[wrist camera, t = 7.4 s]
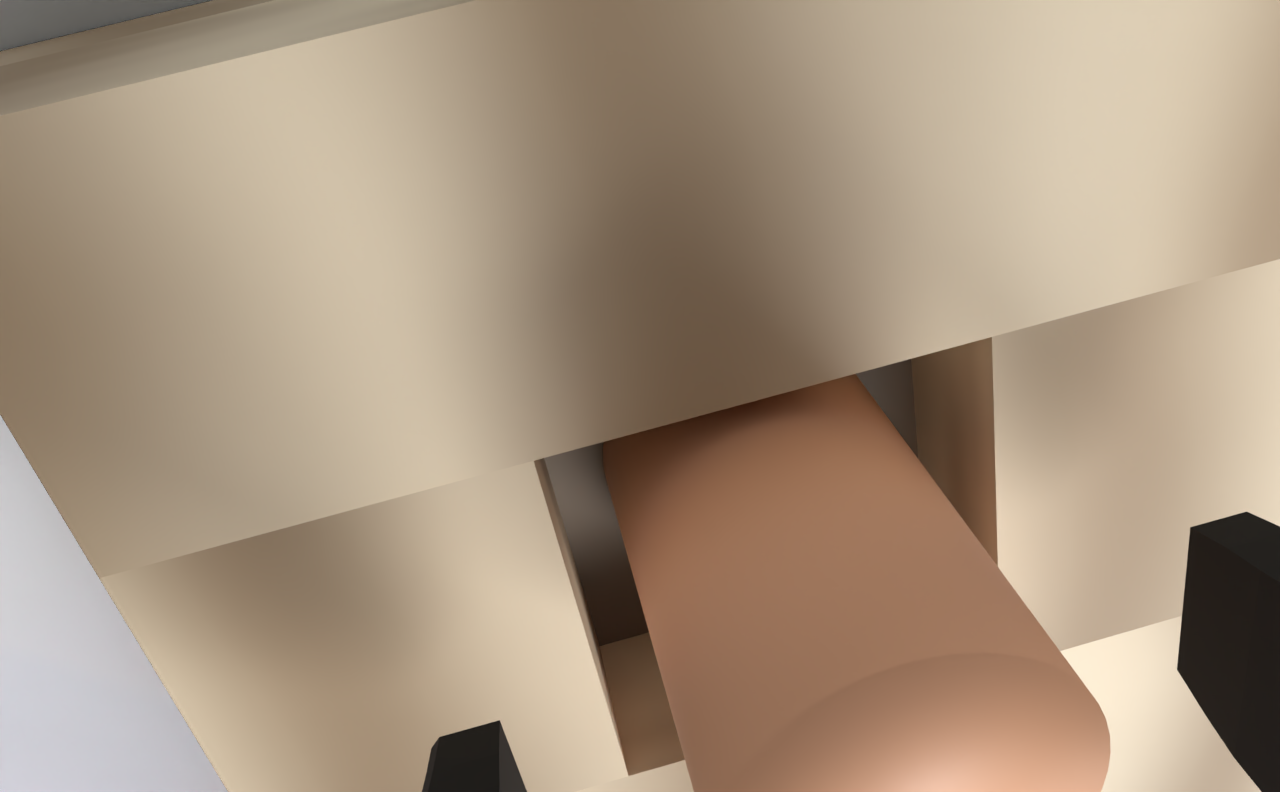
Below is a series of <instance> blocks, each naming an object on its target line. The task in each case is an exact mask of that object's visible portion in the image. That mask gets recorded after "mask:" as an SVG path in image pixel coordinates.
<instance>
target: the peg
mask: <svg viewBox="0 0 1280 792" xmlns="http://www.w3.org/2000/svg"><path fill="white" fill-rule="evenodd" d="M603 466H604V472H605V477H606V481H607V485H608V488H609V492H610V495H611V499H612V502H613V506H614V510H615V513H616V517H617V520H618V524H619V527H620V531H621V534H622V538H623V541H624V545H625V549H626V552H627V556H628V559H629V563H630V566H631V570H632V573H633V577H634V581H635V584H636V588H637V591H638V595H639V598H640V602H641V605H642V609H643V613H644V616H645V620H646V623H647V627H648V630H649V634H650V637H651V641H652V645H653V648H654V652H655V655H656V659H657V662H658V666H659V669H660V673H661V677H662V680H663V684H664V687H665V691H666V694H667V698H668V701H669V705H670V709H671V712H672V716H673V719H674V723H675V726H676V730H677V733H678V737H679V740H680V744H681V748H682V751H683V755H684V758H685V762H686V765H687V769H688V772H689V776H690V780H691V783H692V787H693V790H694V792H1101V790H1102V788H1103V785H1104V782H1105V778H1106V775H1107V772H1108V767H1109V760H1110V753H1111V750H1110V733H1109V729H1108V725H1107V721H1106V718H1105V716H1104V714H1103V712H1102V710H1101V708H1100V705H1099V703H1098V702H1097V701H1096V699H1095V698H1094V697H1093V695H1092V694H1091V692H1090V691H1089V690H1088V688H1087V687H1086V686H1085V684H1084V683H1083V682H1082V680H1081V679H1080V678H1079V676H1078V675H1077V674H1076V672H1075V671H1074V669H1073V668H1072V667H1071V665H1070V664H1069V663H1068V661H1067V660H1066V659H1065V657H1064V656H1063V655H1062V653H1061V652H1060V650H1059V649H1058V648H1057V646H1056V645H1055V644H1054V642H1053V641H1052V640H1051V638H1050V637H1049V636H1048V634H1047V633H1046V631H1045V630H1044V629H1043V627H1042V626H1041V625H1040V623H1039V622H1038V621H1037V619H1036V618H1035V617H1034V615H1033V614H1032V613H1031V611H1030V610H1029V608H1028V607H1027V606H1026V604H1025V603H1024V602H1023V600H1022V599H1021V598H1020V596H1019V595H1018V594H1017V592H1016V591H1015V589H1014V588H1013V587H1012V585H1011V584H1010V583H1009V581H1008V580H1007V579H1006V577H1005V576H1004V575H1003V573H1002V572H1001V570H1000V569H999V568H998V566H997V565H996V564H995V562H994V561H993V560H992V558H991V557H990V556H989V554H988V553H987V551H986V550H985V549H984V547H983V546H982V545H981V543H980V542H979V541H978V539H977V538H976V537H975V535H974V534H973V533H972V531H971V530H970V528H969V527H968V526H967V524H966V523H965V522H964V520H963V519H962V518H961V516H960V515H959V514H958V512H957V511H956V509H955V508H954V507H953V505H952V504H951V503H950V501H949V500H948V499H947V497H946V496H945V495H944V493H943V492H942V490H941V489H940V488H939V486H938V485H937V484H936V482H935V481H934V480H933V478H932V477H931V476H930V474H929V473H928V471H927V470H926V469H925V467H924V466H923V465H922V463H921V462H920V461H919V459H918V458H917V457H916V455H915V454H914V453H913V451H912V450H911V448H910V447H909V446H908V444H907V443H906V442H905V440H904V439H903V438H902V436H901V435H900V434H899V432H898V431H897V429H896V428H895V427H894V425H893V424H892V423H891V421H890V420H889V419H888V417H887V416H886V415H885V413H884V412H883V410H882V409H881V408H880V406H879V405H878V404H877V402H876V401H875V400H874V398H873V397H872V396H871V394H870V393H869V392H868V390H867V389H866V387H865V386H864V385H863V383H862V382H861V381H860V379H859V378H858V377H857V375H856V374H853V375H849V376H845V377H842V378H838V379H834V380H830V381H827V382H823V383H819V384H816V385H812V386H808V387H805V388H801V389H797V390H794V391H790V392H786V393H782V394H779V395H775V396H771V397H768V398H764V399H760V400H757V401H753V402H749V403H745V404H742V405H738V406H734V407H731V408H727V409H723V410H720V411H716V412H712V413H708V414H705V415H701V416H697V417H694V418H690V419H686V420H683V421H679V422H675V423H671V424H668V425H664V426H660V427H657V428H653V429H649V430H646V431H642V432H638V433H634V434H631V435H627V436H623V437H620V438H616V439H612V440H609V441H605V442H604V443H603Z"/></svg>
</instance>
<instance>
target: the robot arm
mask: <svg viewBox="0 0 1280 792" xmlns="http://www.w3.org/2000/svg"><path fill="white" fill-rule="evenodd" d="M1177 671H1178V672H1179V674H1180V675H1181V677H1182V678H1183V680H1184V682H1185V683H1186V685H1187V686H1188V688H1189V690H1190V691H1191V693H1192V694H1193V696H1194V698H1195V699H1196V701H1197V702H1198V704H1199V706H1200V707H1201V709H1202V710H1203V712H1204V714H1205V715H1206V717H1207V718H1208V720H1209V721H1210V723H1211V724H1212V726H1213V727H1214V729H1215V730H1216V732H1217V733H1218V735H1219V736H1220V738H1221V739H1222V741H1223V742H1224V744H1225V745H1226V747H1227V748H1228V750H1229V751H1230V753H1231V754H1232V756H1233V757H1234V758H1235V760H1236V761H1237V762H1238V763H1239V765H1240V766H1241V767H1242V768H1243V770H1244V771H1245V772H1246V773H1247V775H1248V776H1249V777H1250V778H1251V779H1252V781H1253V782H1254V783H1255V784H1256V786H1257V787H1258V788H1259V789H1260V790H1261V792H1280V526H1278V525H1275V524H1273V523H1271V522H1269V521H1267V520H1264V519H1262V518H1260V517H1258V516H1256V515H1253V514H1251V513H1249V512H1243V513H1240V514H1236V515H1232V516H1229V517H1225V518H1222V519H1218V520H1215V521H1211V522H1207V523H1204V524H1200V525H1197V526H1193V527H1190V536H1189V546H1188V557H1187V568H1186V578H1185V589H1184V599H1183V610H1182V621H1181V631H1180V642H1179V653H1178V663H1177ZM422 792H527V790H526V788H525V785H524V783H523V780H522V777H521V775H520V772H519V769H518V767H517V764H516V762H515V759H514V756H513V754H512V751H511V748H510V746H509V743H508V740H507V738H506V735H505V733H504V730H503V727H502V725H501V722H500V720H498V721H495V722H491V723H488V724H484V725H480V726H477V727H473V728H470V729H466V730H463V731H459V732H455V733H452V734H448V735H445V736H441V737H439V738H438V740H437V741H436V742H435V744H434V745H433V746H432V748H431V752H430V757H429V762H428V767H427V772H426V777H425V781H424V785H423V789H422Z"/></svg>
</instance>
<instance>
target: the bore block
mask: <svg viewBox="0 0 1280 792" xmlns="http://www.w3.org/2000/svg"><path fill="white" fill-rule="evenodd" d="M853 374H856V375H857V377H858V378H859V379H860V381H861V382H862V383H863V385H864V386H865V387H866V389H867V390H868V392H869V393H870V394H871V396H872V397H873V398H874V400H875V401H876V402H877V404H878V405H879V406H880V408H881V409H882V410H883V412H884V413H885V415H886V416H887V417H888V419H889V420H890V421H891V423H892V424H893V425H894V427H895V428H896V429H897V431H898V432H899V434H900V435H901V436H902V438H903V439H904V440H905V442H906V443H907V444H908V446H909V447H910V448H911V450H912V451H913V453H914V454H915V455H916V457H917V458H918V459H919V461H920V462H921V463H922V465H923V466H924V467H925V469H926V470H927V471H928V473H929V474H930V476H931V477H932V478H933V480H934V481H935V482H936V484H937V485H938V486H939V488H940V489H941V490H942V492H943V493H944V495H945V496H946V497H947V499H948V500H949V501H950V503H951V504H952V505H953V507H954V508H955V509H956V511H957V512H958V514H959V515H960V516H961V518H962V519H963V520H964V522H965V523H966V524H967V526H968V527H969V528H970V530H971V531H972V533H973V534H974V535H975V537H976V538H977V539H978V541H979V542H980V543H981V545H982V546H983V547H984V549H985V550H986V551H987V553H988V554H989V556H990V557H991V558H992V560H993V561H994V562H995V564H996V565H997V566H998V568H999V569H1000V570H1001V572H1002V573H1003V575H1004V576H1005V577H1006V579H1007V580H1008V581H1009V583H1010V584H1011V585H1012V587H1013V588H1014V589H1015V591H1016V592H1017V594H1018V595H1019V596H1020V598H1021V599H1022V600H1023V602H1024V603H1025V604H1026V606H1027V607H1028V608H1029V610H1030V611H1031V613H1032V614H1033V615H1034V617H1035V618H1036V619H1037V621H1038V622H1039V623H1040V625H1041V626H1042V627H1043V629H1044V630H1045V631H1046V633H1047V634H1048V636H1049V637H1050V638H1051V640H1052V641H1053V642H1054V644H1055V645H1056V646H1057V648H1058V649H1059V650H1060V652H1061V653H1062V655H1063V656H1064V657H1065V659H1066V660H1067V661H1068V663H1069V664H1070V665H1071V667H1072V668H1073V669H1074V671H1075V672H1076V674H1077V675H1078V676H1079V678H1080V679H1081V680H1082V682H1083V683H1084V684H1085V686H1086V687H1087V688H1088V690H1089V691H1090V692H1091V694H1092V695H1093V697H1094V698H1095V699H1096V701H1097V702H1098V703H1099V705H1100V708H1101V710H1102V712H1103V714H1104V716H1105V718H1106V721H1107V725H1108V729H1109V733H1110V750H1111V753H1110V760H1109V767H1108V772H1107V775H1106V778H1105V782H1104V785H1103V788H1102V790H1101V792H1261V790H1260V789H1259V788H1258V787H1257V786H1256V784H1255V783H1254V782H1253V781H1252V779H1251V778H1250V777H1249V776H1248V775H1247V773H1246V772H1245V771H1244V770H1243V768H1242V767H1241V766H1240V765H1239V763H1238V762H1237V761H1236V760H1235V758H1234V757H1233V756H1232V754H1231V753H1230V751H1229V750H1228V748H1227V747H1226V745H1225V744H1224V742H1223V741H1222V739H1221V738H1220V736H1219V735H1218V733H1217V732H1216V730H1215V729H1214V727H1213V726H1212V724H1211V723H1210V721H1209V720H1208V718H1207V717H1206V715H1205V714H1204V712H1203V710H1202V709H1201V707H1200V706H1199V704H1198V702H1197V701H1196V699H1195V698H1194V696H1193V694H1192V693H1191V691H1190V690H1189V688H1188V686H1187V685H1186V683H1185V682H1184V680H1183V678H1182V677H1181V675H1180V674H1179V672H1178V671H1177V663H1178V653H1179V642H1180V631H1181V621H1182V610H1183V599H1184V589H1185V578H1186V568H1187V557H1188V546H1189V536H1190V527H1193V526H1197V525H1200V524H1204V523H1207V522H1211V521H1215V520H1218V519H1222V518H1225V517H1229V516H1232V515H1236V514H1240V513H1243V512H1249V513H1251V514H1253V515H1256V516H1258V517H1260V518H1262V519H1264V520H1267V521H1269V522H1271V523H1273V524H1275V525H1278V526H1280V0H212V1H208V2H204V3H200V4H195V5H191V6H187V7H183V8H179V9H175V10H170V11H166V12H162V13H158V14H154V15H150V16H145V17H141V18H137V19H133V20H129V21H125V22H120V23H116V24H112V25H108V26H104V27H100V28H95V29H91V30H87V31H83V32H79V33H75V34H70V35H66V36H62V37H58V38H54V39H50V40H45V41H41V42H37V43H33V44H29V45H25V46H20V47H16V48H12V49H8V50H4V51H0V415H1V416H2V418H3V420H4V421H5V423H6V425H7V426H8V428H9V430H10V431H11V433H12V435H13V436H14V438H15V440H16V441H17V443H18V445H19V446H20V448H21V449H22V451H23V453H24V454H25V456H26V458H27V459H28V461H29V463H30V464H31V466H32V468H33V469H34V471H35V473H36V474H37V476H38V478H39V479H40V481H41V483H42V484H43V486H44V488H45V489H46V491H47V493H48V494H49V496H50V498H51V499H52V501H53V503H54V504H55V506H56V507H57V509H58V511H59V512H60V514H61V516H62V517H63V519H64V521H65V522H66V524H67V526H68V527H69V529H70V531H71V532H72V534H73V536H74V537H75V539H76V541H77V542H78V544H79V546H80V547H81V549H82V551H83V552H84V554H85V556H86V557H87V559H88V561H89V562H90V564H91V565H92V567H93V569H94V570H95V572H96V574H97V575H98V577H99V579H100V580H101V582H102V584H103V585H104V587H105V589H106V590H107V592H108V594H109V595H110V597H111V599H112V600H113V602H114V604H115V605H116V607H117V609H118V610H119V612H120V614H121V615H122V617H123V619H124V620H125V622H126V623H127V625H128V627H129V628H130V630H131V632H132V633H133V635H134V637H135V638H136V640H137V642H138V643H139V645H140V647H141V648H142V650H143V652H144V653H145V655H146V657H147V658H148V660H149V662H150V663H151V665H152V667H153V668H154V670H155V672H156V673H157V675H158V676H159V678H160V680H161V681H162V683H163V685H164V686H165V688H166V690H167V691H168V693H169V695H170V696H171V698H172V700H173V701H174V703H175V705H176V706H177V708H178V710H179V711H180V713H181V715H182V716H183V718H184V720H185V721H186V723H187V725H188V726H189V728H190V730H191V731H192V733H193V734H194V736H195V738H196V739H197V741H198V743H199V744H200V746H201V748H202V749H203V751H204V753H205V754H206V756H207V758H208V759H209V761H210V763H211V764H212V766H213V768H214V769H215V771H216V773H217V774H218V776H219V778H220V779H221V781H222V783H223V784H224V786H225V788H226V789H227V791H228V792H422V789H423V785H424V781H425V777H426V772H427V767H428V762H429V757H430V752H431V748H432V746H433V745H434V744H435V742H436V741H437V740H438V738H439V737H441V736H445V735H448V734H452V733H455V732H459V731H463V730H466V729H470V728H473V727H477V726H480V725H484V724H488V723H491V722H495V721H498V720H500V722H501V725H502V727H503V730H504V733H505V735H506V738H507V740H508V743H509V746H510V748H511V751H512V754H513V756H514V759H515V762H516V764H517V767H518V769H519V772H520V775H521V777H522V780H523V783H524V785H525V788H526V790H527V792H694V790H693V787H692V783H691V780H690V776H689V772H688V769H687V765H686V762H685V758H684V755H683V751H682V748H681V744H680V740H679V737H678V733H677V730H676V726H675V723H674V719H673V716H672V712H671V709H670V705H669V701H668V698H667V694H666V691H665V687H664V684H663V680H662V677H661V673H660V669H659V666H658V662H657V659H656V655H655V652H654V648H653V645H652V641H651V637H650V634H649V630H648V627H647V623H646V620H645V616H644V613H643V609H642V605H641V602H640V598H639V595H638V591H637V588H636V584H635V581H634V577H633V573H632V570H631V566H630V563H629V559H628V556H627V552H626V549H625V545H624V541H623V538H622V534H621V531H620V527H619V524H618V520H617V517H616V513H615V510H614V506H613V502H612V499H611V495H610V492H609V488H608V485H607V481H606V477H605V472H604V466H603V443H604V442H605V441H609V440H612V439H616V438H620V437H623V436H627V435H631V434H634V433H638V432H642V431H646V430H649V429H653V428H657V427H660V426H664V425H668V424H671V423H675V422H679V421H683V420H686V419H690V418H694V417H697V416H701V415H705V414H708V413H712V412H716V411H720V410H723V409H727V408H731V407H734V406H738V405H742V404H745V403H749V402H753V401H757V400H760V399H764V398H768V397H771V396H775V395H779V394H782V393H786V392H790V391H794V390H797V389H801V388H805V387H808V386H812V385H816V384H819V383H823V382H827V381H830V380H834V379H838V378H842V377H845V376H849V375H853Z"/></svg>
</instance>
